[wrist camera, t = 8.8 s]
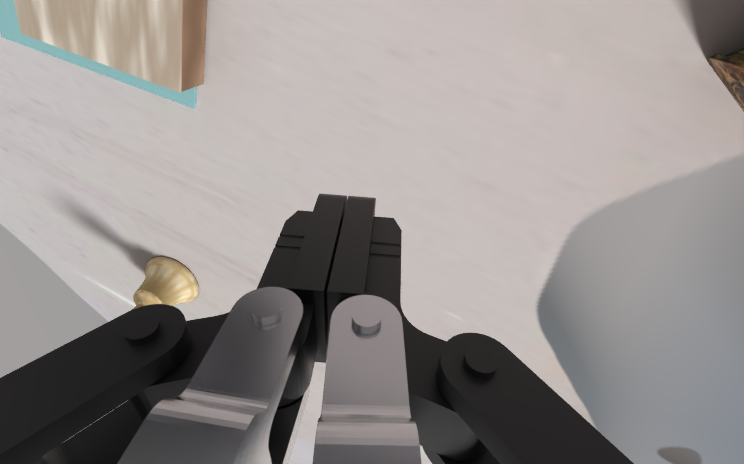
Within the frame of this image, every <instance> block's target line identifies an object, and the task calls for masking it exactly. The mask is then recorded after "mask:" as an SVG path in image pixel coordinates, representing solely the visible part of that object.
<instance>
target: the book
mask: <svg viewBox="0 0 744 464" xmlns="http://www.w3.org/2000/svg"><path fill="white" fill-rule="evenodd" d="M708 62H709V64H710V65H711V66H712V68H713V69H714V71H715V72H716V73H717V75H718V76H719V78H720V79H721V80H722V82H723V83H724V85H725V86H726V88H727V89H728V90H729V92H730V93H731V94H732V96H733V97H734V99H735V100H736V101H737V103H738V104H739V105H740V107H741V108H742V109H743V111H744V48H743V49H741V50H739V51H737V52H734V53H732V54H729V55H726V56H723V55H718V54H715V55H713V56H712V57H710V58H709V59H708Z"/></svg>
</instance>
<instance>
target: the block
mask: <svg viewBox="0 0 744 464" xmlns="http://www.w3.org/2000/svg"><path fill="white" fill-rule="evenodd" d="M14 2H15V7H16V12H17V17H18V22H19V27H20V32H21V34H23V35H26V36H29V37H31V38H34V39H37V40H39V41H42V42H45V43H48V44H50V45H53V46H56V47H58V48H61V49H64V50H66V51H69V52H72V53H74V54H77V55H80V56H82V57H85V58H88V59H90V60H93V61H96V62H98V63H101V64H104V65H106V66H109V67H112V68H115V69H117V70H120V71H123V72H125V73H128V74H131V75H133V76H136V77H139V78H141V79H144V80H147V81H149V82H152V83H155V84H157V85H160V86H163V87H165V88H168V89H171V90H173V91H176V92H179V93H180V92H183V91H185V90H188V89H191V88H193V87H196V86H199V85H201V84H203V83H204V61H205V38H206V16H207V0H14Z"/></svg>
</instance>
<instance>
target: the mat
mask: <svg viewBox="0 0 744 464" xmlns="http://www.w3.org/2000/svg"><path fill="white" fill-rule="evenodd" d="M0 31H1V36H2V37H4V38H6V39H9V40H12V41H14V42H17V43H20V44H22V45H25V46H28V47H30V48H33V49H36V50H38V51H41V52H44V53H46V54H49V55H52V56H54V57H57V58H60V59H62V60H65V61H68V62H70V63H73V64H76V65H79V66H81V67H84V68H87V69H89V70H92V71H95V72H97V73H100V74H103V75H105V76H108V77H111V78H113V79H116V80H119V81H121V82H124V83H127V84H129V85H132V86H135V87H137V88H140V89H143V90H145V91H148V92H151V93H153V94H156V95H159V96H162V97H164V98H167V99H170V100H172V101H175V102H178V103H180V104H183V105H186V106H188V107H191V108H196V87H197V86H196V87H193V88H191V89H188V90H185V91H183V92H180V93H179V92H176V91H173V90H171V89H168V88H165V87H163V86H160V85H157V84H155V83H152V82H149V81H147V80H144V79H141V78H139V77H136V76H133V75H131V74H128V73H125V72H123V71H120V70H117V69H115V68H112V67H109V66H106V65H104V64H101V63H98V62H96V61H93V60H90V59H88V58H85V57H82V56H80V55H77V54H74V53H72V52H69V51H66V50H64V49H61V48H58V47H56V46H53V45H50V44H48V43H45V42H42V41H39V40H37V39H34V38H31V37H29V36H26V35H23V34H21V32H20V27H19V22H18V17H17V12H16V7H15V2H14V0H0Z"/></svg>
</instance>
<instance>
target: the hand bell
mask: <svg viewBox="0 0 744 464" xmlns="http://www.w3.org/2000/svg"><path fill="white" fill-rule="evenodd" d="M145 276H146V277H145V280H144V282H143V283H142V285H141V286H140V288H139V289H138V290H137V291H136V292H135V294H134V302H135V304H136V307H135V308H134V309H136V308H139V307H142V306H146V305H151V304H166V305H170V306H172V305H174V304H176V303H186V302H189V301H192V300H193V299H195V298H196V296H197V295H198V290H199V287H198V284H197V281H196V279H195V277H194V276H193V274H192V273H191V272H190V271H189V270H188V269H187V268H186V267H185V266H183V265H182V264H181V263H179V262H177V261H175V260H173V259H170V258H166V257H155V258H152V259H151V260H149V262H148V263H147V265H146V268H145ZM132 310H133V309H132Z"/></svg>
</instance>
